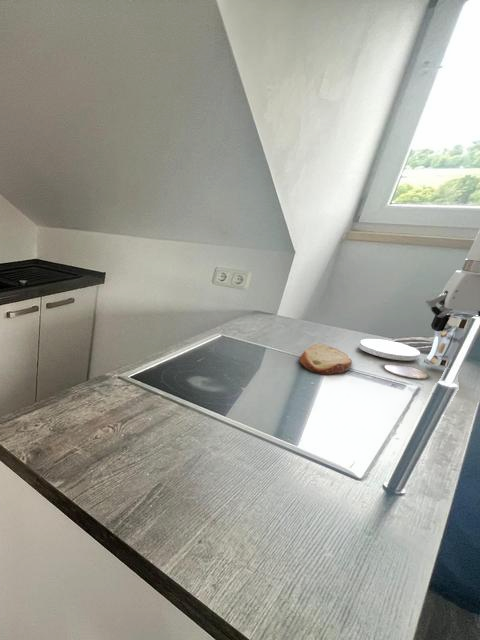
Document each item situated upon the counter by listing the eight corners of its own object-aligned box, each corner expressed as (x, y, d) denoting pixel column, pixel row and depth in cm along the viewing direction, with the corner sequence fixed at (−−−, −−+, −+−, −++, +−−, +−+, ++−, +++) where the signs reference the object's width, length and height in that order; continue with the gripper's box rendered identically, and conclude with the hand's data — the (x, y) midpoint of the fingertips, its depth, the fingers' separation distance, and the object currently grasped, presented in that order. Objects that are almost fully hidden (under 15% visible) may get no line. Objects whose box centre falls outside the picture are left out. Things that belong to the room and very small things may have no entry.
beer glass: (451, 362, 113) (475, 312, 107) (460, 371, 108) (485, 319, 102) (418, 357, 117) (439, 309, 111) (425, 366, 112) (448, 316, 105)
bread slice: (326, 349, 127) (330, 338, 125) (376, 374, 111) (381, 362, 109) (272, 350, 127) (275, 340, 125) (314, 375, 110) (319, 363, 109)
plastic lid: (425, 366, 115) (429, 359, 114) (365, 358, 120) (368, 351, 119) (405, 349, 126) (408, 342, 125) (351, 343, 132) (354, 336, 131)
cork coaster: (418, 368, 114) (419, 367, 113) (433, 381, 106) (434, 380, 106) (379, 363, 117) (379, 362, 117) (391, 375, 110) (391, 374, 110)
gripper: (522, 266, 101) (489, 330, 108) (432, 263, 108) (407, 324, 115) (543, 272, 95) (506, 340, 102) (446, 268, 101) (418, 332, 109)
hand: (454, 331), depth 108 cm, fingers closed on beer glass, 7 cm apart
